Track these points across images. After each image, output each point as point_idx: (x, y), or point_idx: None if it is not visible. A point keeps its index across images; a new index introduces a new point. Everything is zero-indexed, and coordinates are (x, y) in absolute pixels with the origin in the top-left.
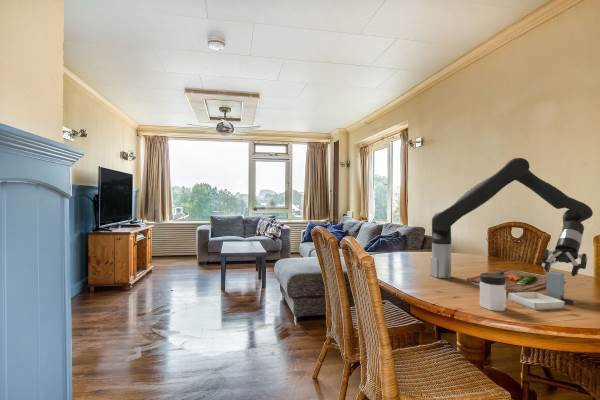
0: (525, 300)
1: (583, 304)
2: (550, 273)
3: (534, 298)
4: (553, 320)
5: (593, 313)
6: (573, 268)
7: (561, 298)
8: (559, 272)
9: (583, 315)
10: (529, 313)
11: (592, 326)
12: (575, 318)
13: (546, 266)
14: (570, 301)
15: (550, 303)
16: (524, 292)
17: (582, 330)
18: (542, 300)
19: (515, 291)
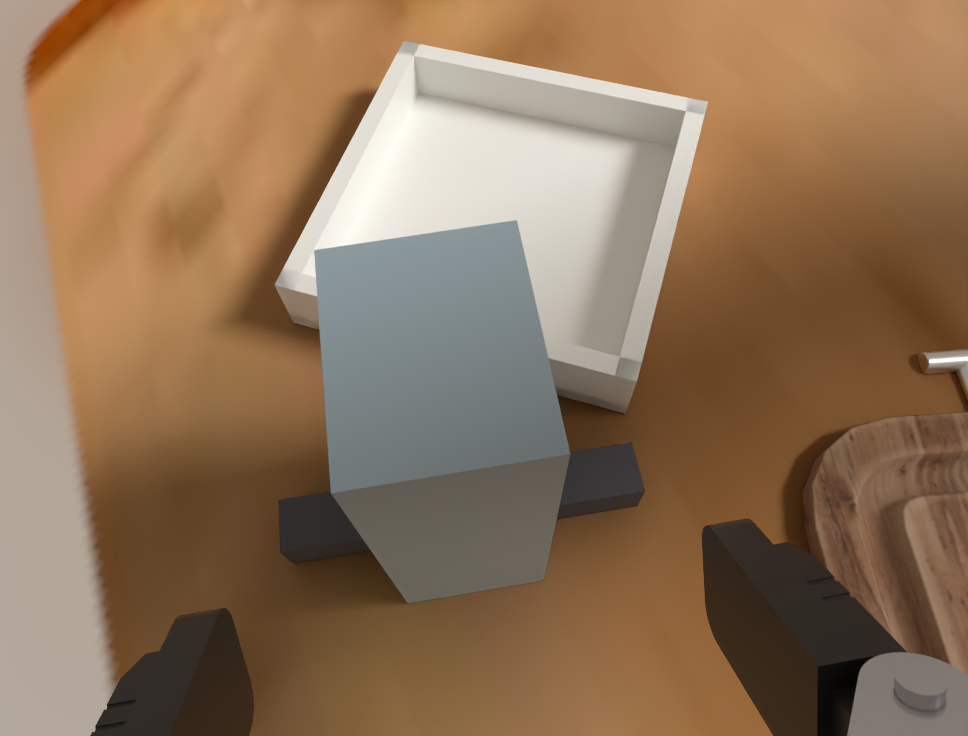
0: (499, 64)
1: None
2: (460, 237)
3: (581, 323)
4: (240, 18)
5: (77, 402)
6: (157, 705)
7: None
8: (416, 474)
9: (128, 272)
10: (395, 11)
11: (38, 105)
12: (154, 158)
13: (776, 559)
14: (298, 500)
15: (344, 164)
16: (665, 248)
17: (72, 6)
18: None
19: (878, 421)
